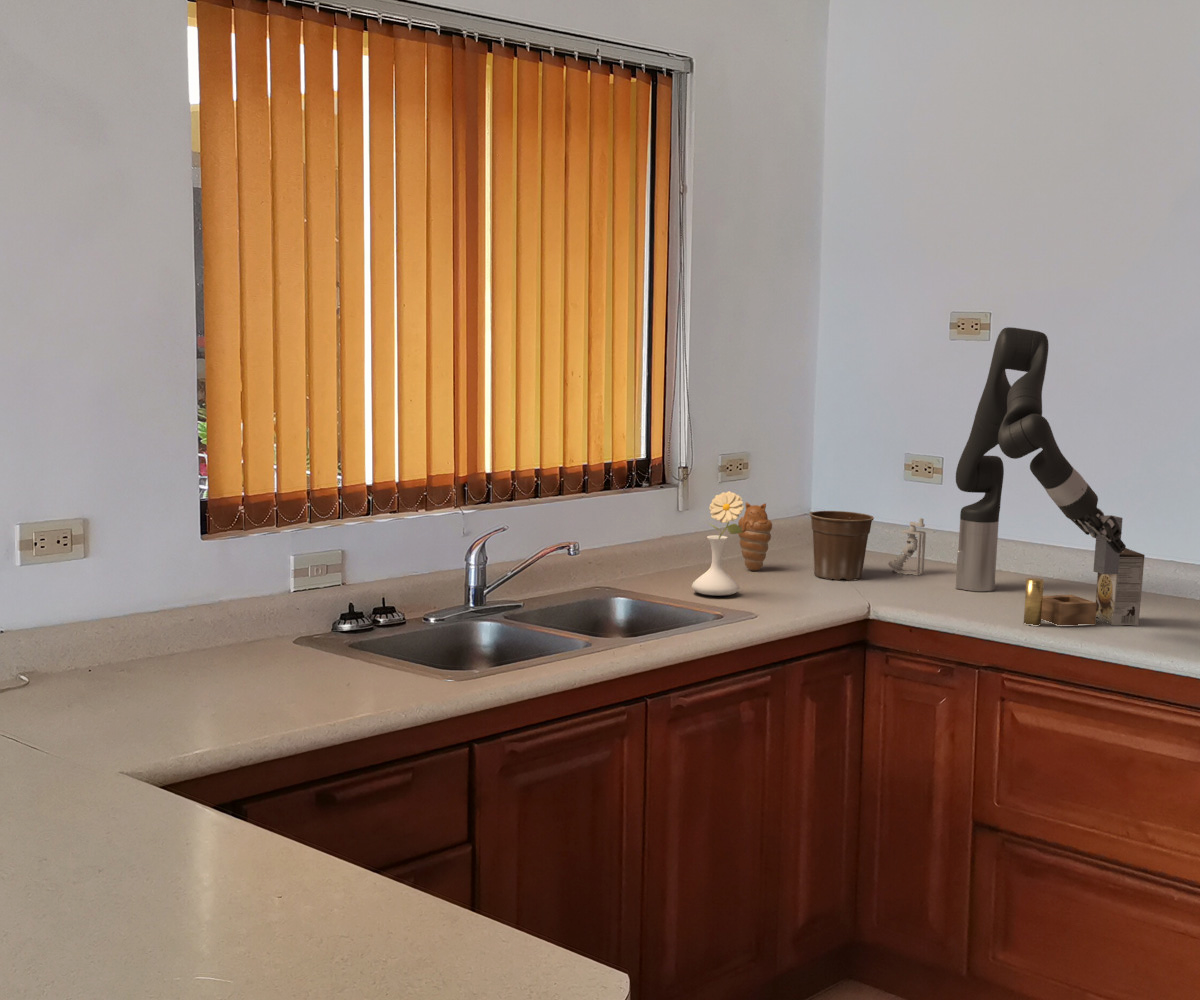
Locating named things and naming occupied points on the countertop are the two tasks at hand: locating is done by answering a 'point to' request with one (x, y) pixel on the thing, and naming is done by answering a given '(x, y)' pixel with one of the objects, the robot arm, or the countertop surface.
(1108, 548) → the square bit
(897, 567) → the clamp
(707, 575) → the flower in vase
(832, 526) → the plant pot
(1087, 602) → the bore block
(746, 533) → the cat ice cream
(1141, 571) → the coffee box
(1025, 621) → the round bit
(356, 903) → the countertop surface
